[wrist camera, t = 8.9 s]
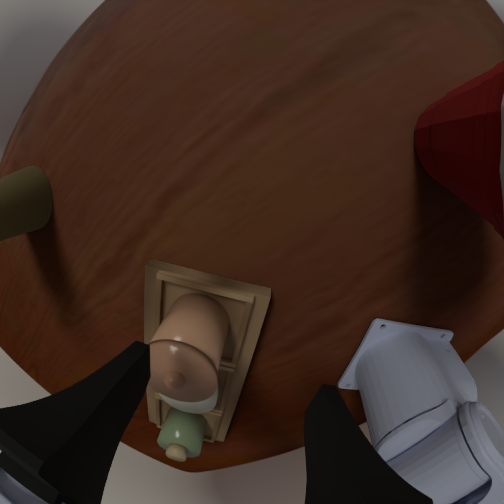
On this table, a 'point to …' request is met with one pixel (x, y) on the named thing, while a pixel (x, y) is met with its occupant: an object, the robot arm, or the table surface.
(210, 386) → the spice jar
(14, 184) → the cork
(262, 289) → the tray
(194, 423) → the green jar
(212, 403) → the white rounded disc
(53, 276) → the table surface
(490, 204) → the plastic cup
